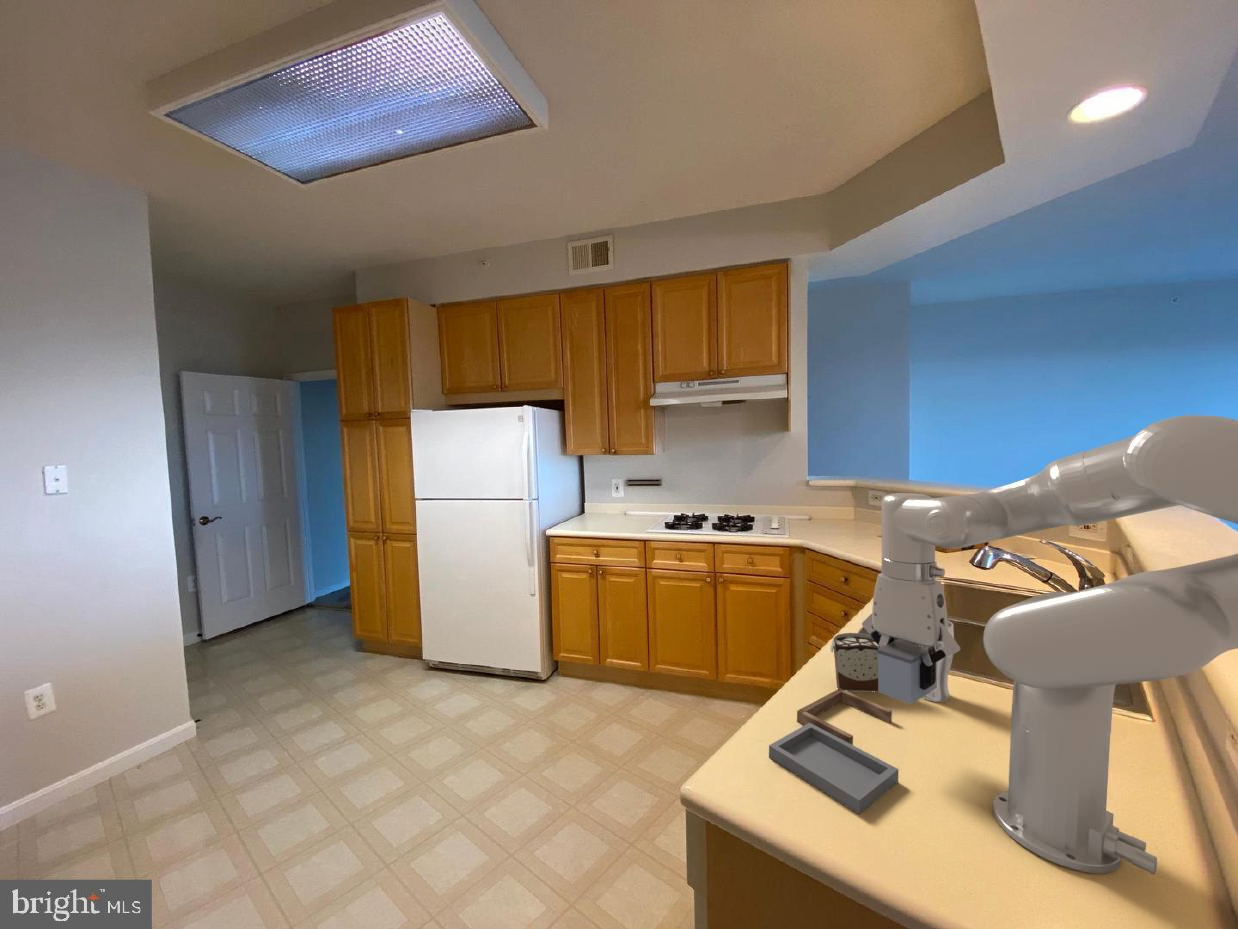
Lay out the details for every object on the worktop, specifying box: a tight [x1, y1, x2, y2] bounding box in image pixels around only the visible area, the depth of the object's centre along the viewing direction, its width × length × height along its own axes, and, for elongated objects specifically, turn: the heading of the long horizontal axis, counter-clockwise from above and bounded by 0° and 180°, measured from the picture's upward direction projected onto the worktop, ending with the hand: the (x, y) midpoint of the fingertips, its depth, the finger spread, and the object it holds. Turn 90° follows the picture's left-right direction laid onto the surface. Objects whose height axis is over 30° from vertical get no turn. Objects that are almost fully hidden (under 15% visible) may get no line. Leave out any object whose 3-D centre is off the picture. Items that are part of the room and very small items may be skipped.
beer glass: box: [921, 620, 955, 703], centre depth 99 cm, size 7×7×15 cm
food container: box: [830, 632, 879, 693], centre depth 104 cm, size 12×6×10 cm, turn 84°
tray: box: [768, 723, 899, 815], centre depth 78 cm, size 15×11×2 cm
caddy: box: [877, 639, 938, 705], centre depth 81 cm, size 5×9×7 cm, turn 125°
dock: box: [796, 688, 893, 746], centre depth 91 cm, size 10×14×2 cm
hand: (907, 679), depth 81 cm, fingers closed on caddy, 5 cm apart
